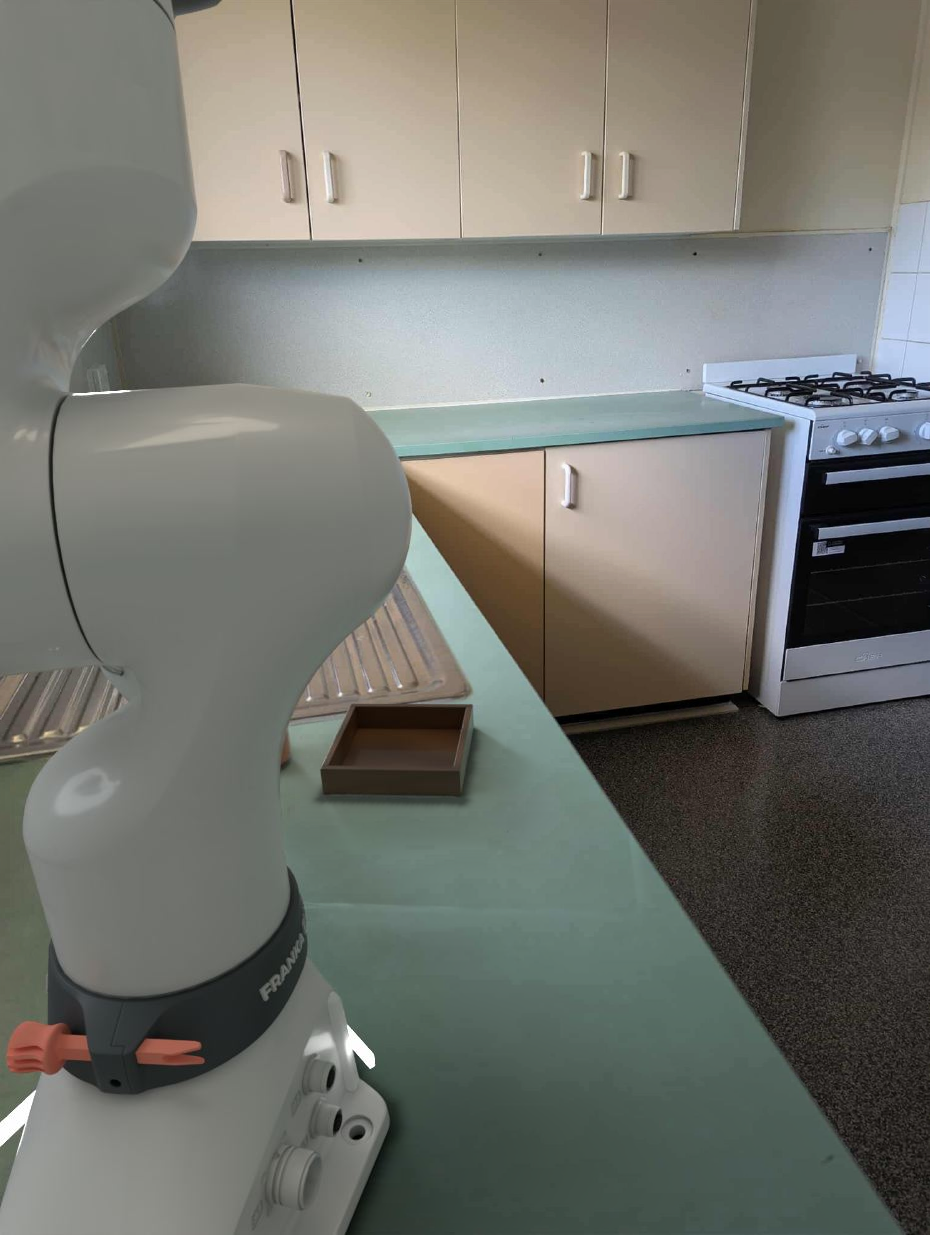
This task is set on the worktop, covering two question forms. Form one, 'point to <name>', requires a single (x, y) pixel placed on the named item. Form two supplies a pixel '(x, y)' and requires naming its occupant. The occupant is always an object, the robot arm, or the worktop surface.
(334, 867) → the worktop surface
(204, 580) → the robot arm
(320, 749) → the worktop surface
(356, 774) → the tray
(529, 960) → the worktop surface
